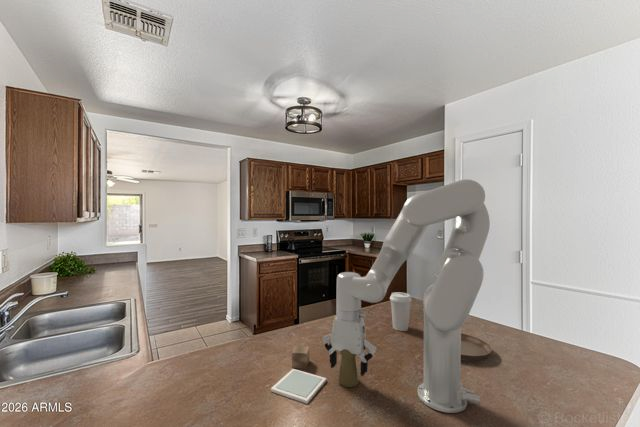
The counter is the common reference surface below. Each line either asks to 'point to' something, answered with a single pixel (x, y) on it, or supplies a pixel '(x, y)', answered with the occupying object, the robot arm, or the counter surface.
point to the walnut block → (300, 357)
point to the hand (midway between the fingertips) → (348, 369)
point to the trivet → (299, 385)
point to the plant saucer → (473, 348)
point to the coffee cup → (400, 310)
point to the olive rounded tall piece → (348, 369)
